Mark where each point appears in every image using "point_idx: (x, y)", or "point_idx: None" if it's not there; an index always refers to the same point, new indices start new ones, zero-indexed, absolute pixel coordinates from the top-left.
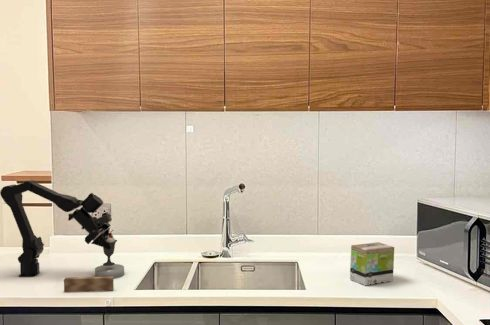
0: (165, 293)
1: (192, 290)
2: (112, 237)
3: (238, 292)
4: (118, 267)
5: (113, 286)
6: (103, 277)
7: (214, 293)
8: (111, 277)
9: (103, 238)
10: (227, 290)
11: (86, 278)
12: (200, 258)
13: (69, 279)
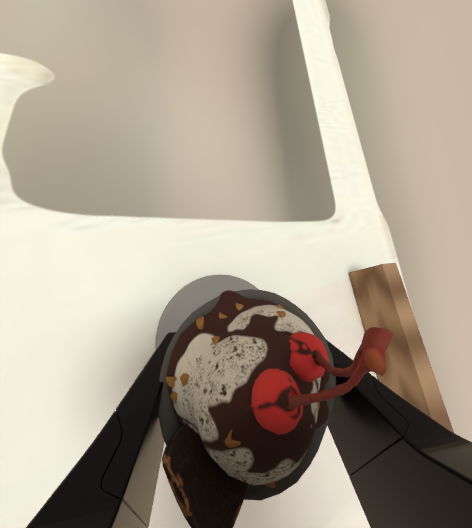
0: (347, 154)
1: (320, 108)
2: (292, 332)
3: (316, 45)
4: (213, 298)
5: (355, 271)
6: (399, 294)
7: (328, 77)
8: (392, 267)
9: (419, 425)
10: (309, 57)
11: (425, 352)
12: (7, 58)
13: (446, 419)
